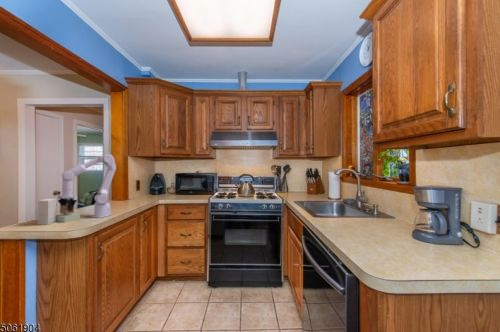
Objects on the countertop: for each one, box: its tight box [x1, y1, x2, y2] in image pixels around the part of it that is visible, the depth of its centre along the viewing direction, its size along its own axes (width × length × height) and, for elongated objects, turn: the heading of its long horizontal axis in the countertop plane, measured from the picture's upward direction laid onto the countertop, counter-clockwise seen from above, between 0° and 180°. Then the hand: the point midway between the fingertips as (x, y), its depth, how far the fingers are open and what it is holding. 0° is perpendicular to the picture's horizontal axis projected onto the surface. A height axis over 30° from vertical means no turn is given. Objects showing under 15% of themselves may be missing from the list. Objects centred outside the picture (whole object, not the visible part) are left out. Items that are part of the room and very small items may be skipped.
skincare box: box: [37, 198, 58, 226], centre depth 149 cm, size 8×6×15 cm
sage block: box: [55, 212, 81, 223], centre depth 158 cm, size 10×10×4 cm
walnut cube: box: [59, 204, 75, 214], centre depth 157 cm, size 5×5×5 cm
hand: (67, 210), depth 158 cm, fingers closed on walnut cube, 5 cm apart
